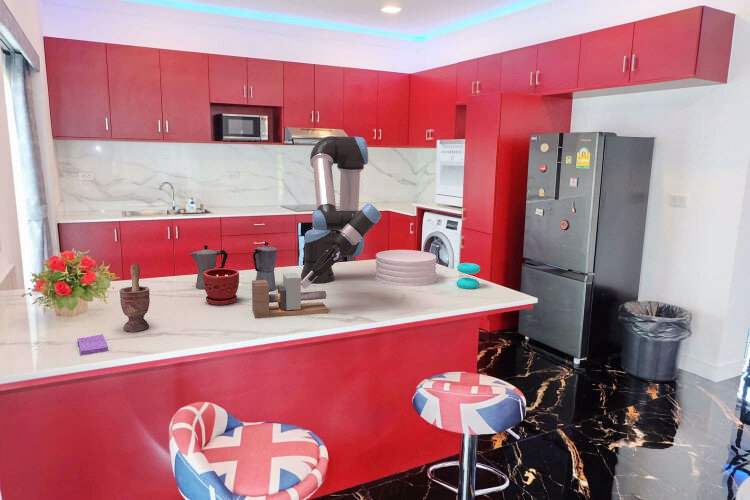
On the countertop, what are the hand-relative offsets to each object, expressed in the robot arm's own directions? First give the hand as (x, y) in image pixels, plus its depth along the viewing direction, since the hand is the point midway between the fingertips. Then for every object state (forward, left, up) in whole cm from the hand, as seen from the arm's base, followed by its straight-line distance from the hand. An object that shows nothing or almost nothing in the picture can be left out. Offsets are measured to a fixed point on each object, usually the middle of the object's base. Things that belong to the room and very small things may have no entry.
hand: (302, 286), depth 188 cm
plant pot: (-19, -27, -10) cm, 35 cm away
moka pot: (-34, -9, -10) cm, 37 cm away
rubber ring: (0, -7, -7) cm, 10 cm away
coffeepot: (-44, -31, -10) cm, 55 cm away
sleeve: (0, -4, -7) cm, 8 cm away
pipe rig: (0, -4, -9) cm, 10 cm away
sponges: (+19, -65, -10) cm, 69 cm away
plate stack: (-38, +56, -10) cm, 68 cm away
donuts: (-18, +78, -10) cm, 80 cm away
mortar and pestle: (+4, -55, -10) cm, 56 cm away
